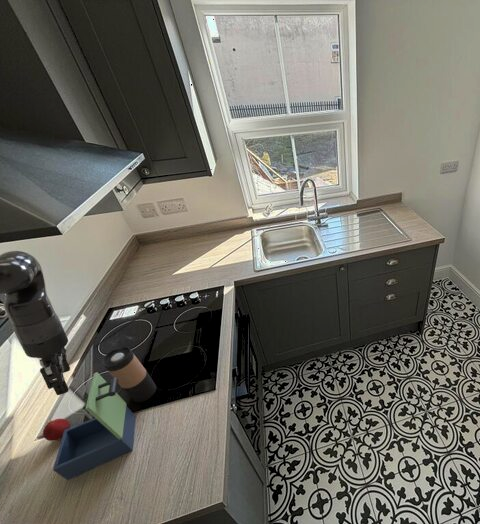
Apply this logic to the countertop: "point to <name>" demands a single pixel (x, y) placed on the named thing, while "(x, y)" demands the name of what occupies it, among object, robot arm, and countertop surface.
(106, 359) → the travel mug
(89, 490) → the countertop surface
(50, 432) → the onion
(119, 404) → the lunchbox lid
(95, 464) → the box
